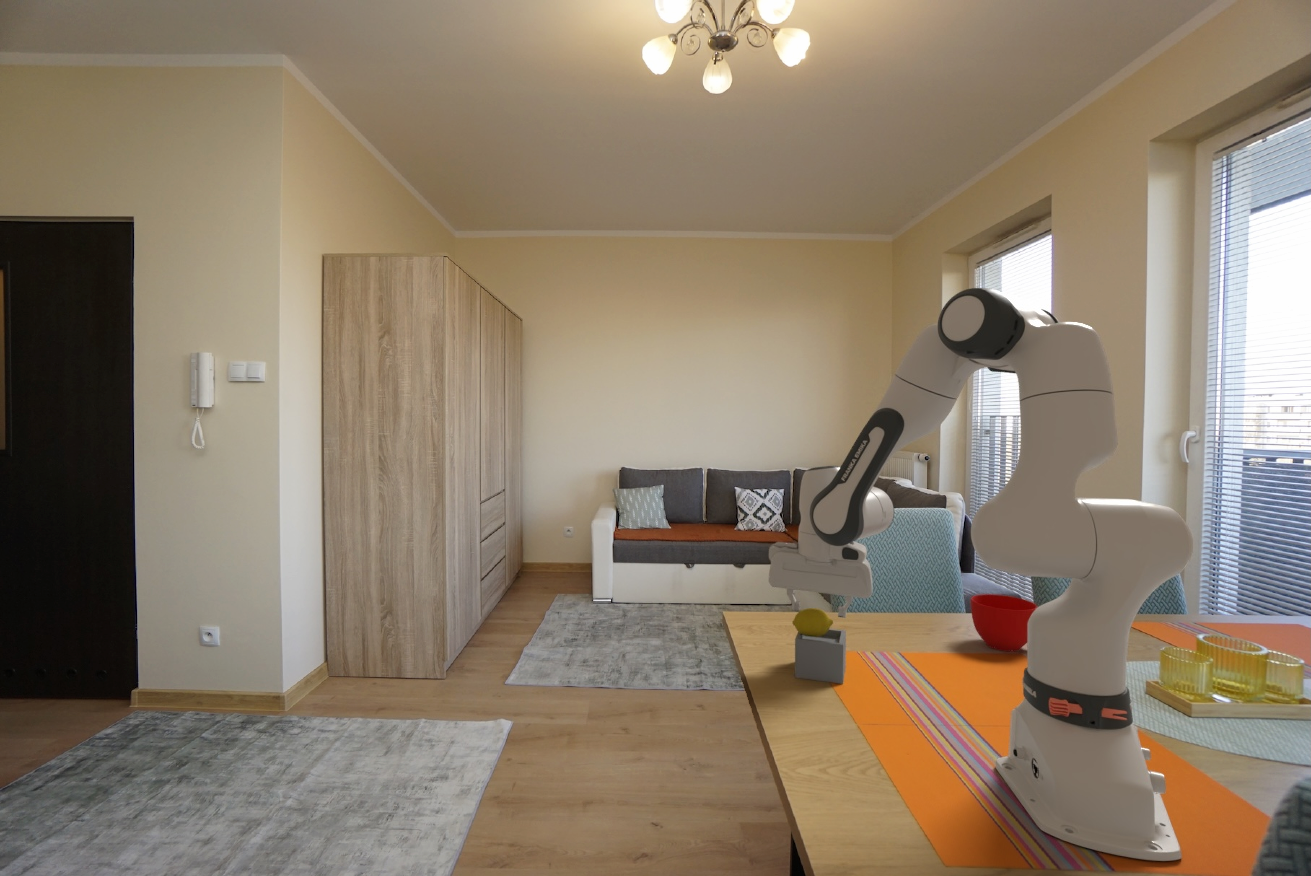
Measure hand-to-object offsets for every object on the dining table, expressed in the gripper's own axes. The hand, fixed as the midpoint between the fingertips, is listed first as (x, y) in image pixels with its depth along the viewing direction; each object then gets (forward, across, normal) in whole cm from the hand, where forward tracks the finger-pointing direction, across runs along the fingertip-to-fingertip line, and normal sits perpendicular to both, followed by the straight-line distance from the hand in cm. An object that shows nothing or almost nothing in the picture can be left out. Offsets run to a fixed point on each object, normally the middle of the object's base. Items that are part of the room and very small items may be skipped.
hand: (818, 613), depth 121 cm
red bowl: (+11, +39, +29) cm, 50 cm away
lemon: (+1, +3, 0) cm, 3 cm away
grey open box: (+11, +1, -1) cm, 11 cm away
